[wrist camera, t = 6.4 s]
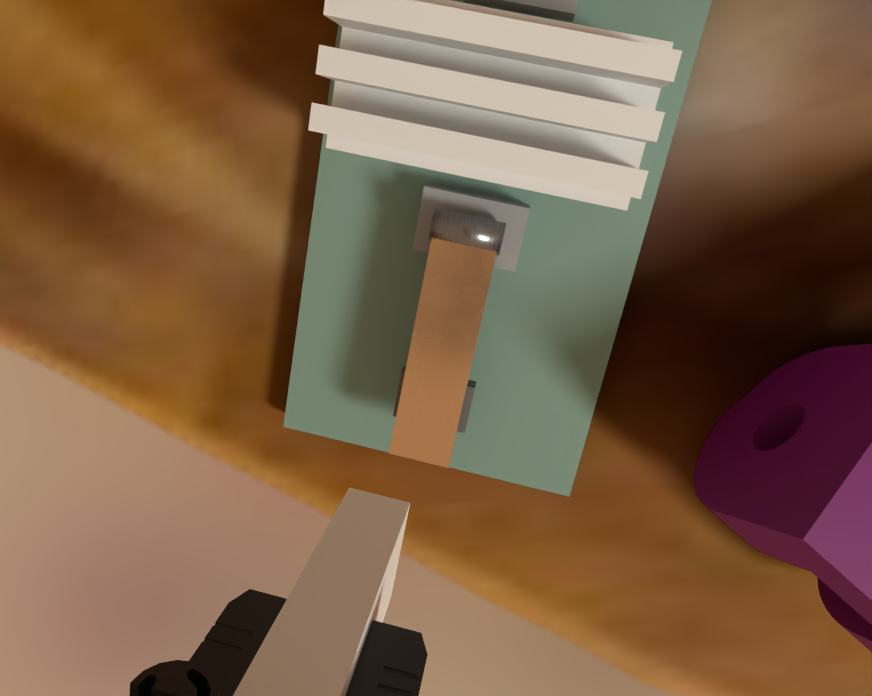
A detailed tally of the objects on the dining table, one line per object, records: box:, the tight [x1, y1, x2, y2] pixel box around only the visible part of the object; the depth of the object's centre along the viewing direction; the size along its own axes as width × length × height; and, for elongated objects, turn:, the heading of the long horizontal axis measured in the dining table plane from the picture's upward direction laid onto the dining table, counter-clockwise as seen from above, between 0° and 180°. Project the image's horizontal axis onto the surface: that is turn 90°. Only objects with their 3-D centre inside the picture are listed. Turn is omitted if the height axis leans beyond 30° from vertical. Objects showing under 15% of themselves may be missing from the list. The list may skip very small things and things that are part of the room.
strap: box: [389, 208, 506, 468], centre depth 26 cm, size 10×3×1 cm, turn 169°
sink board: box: [283, 0, 712, 496], centre depth 23 cm, size 30×13×8 cm, turn 169°
